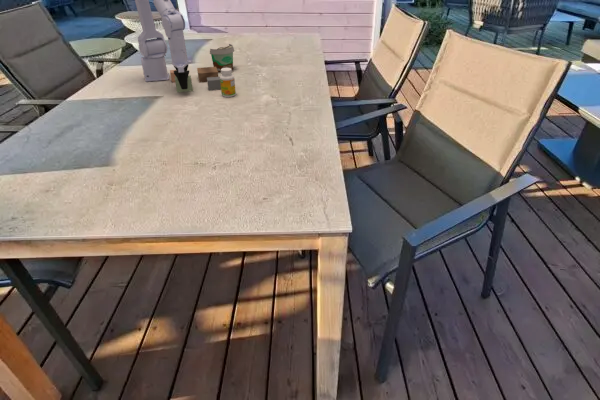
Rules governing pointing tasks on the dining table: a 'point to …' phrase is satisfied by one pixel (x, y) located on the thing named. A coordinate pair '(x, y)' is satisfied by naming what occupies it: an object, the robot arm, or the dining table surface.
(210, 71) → the walnut block
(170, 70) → the terracotta brick
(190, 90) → the sage brick
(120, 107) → the dining table surface
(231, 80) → the supplement bottle
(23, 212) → the dining table surface
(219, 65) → the food container
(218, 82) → the charcoal brick
